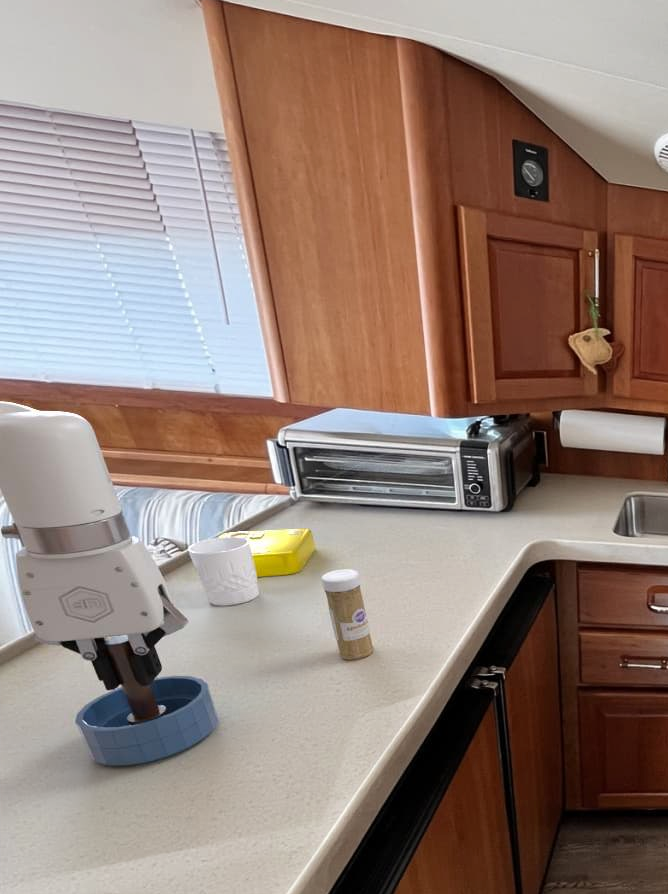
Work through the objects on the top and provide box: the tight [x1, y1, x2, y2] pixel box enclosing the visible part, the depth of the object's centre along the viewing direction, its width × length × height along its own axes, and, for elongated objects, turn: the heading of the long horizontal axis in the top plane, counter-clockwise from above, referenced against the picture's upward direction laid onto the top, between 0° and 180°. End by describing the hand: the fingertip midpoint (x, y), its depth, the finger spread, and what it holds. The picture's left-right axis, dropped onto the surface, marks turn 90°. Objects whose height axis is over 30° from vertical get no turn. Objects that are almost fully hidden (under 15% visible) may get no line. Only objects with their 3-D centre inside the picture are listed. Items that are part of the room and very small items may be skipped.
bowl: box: [74, 675, 219, 766], centre depth 77 cm, size 11×11×6 cm
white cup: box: [187, 537, 260, 607], centre depth 109 cm, size 8×8×10 cm
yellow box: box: [217, 528, 316, 578], centre depth 123 cm, size 15×15×5 cm
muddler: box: [104, 635, 168, 726], centre depth 74 cm, size 3×3×13 cm
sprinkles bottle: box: [321, 568, 375, 661], centre depth 96 cm, size 5×5×14 cm
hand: (134, 680), depth 73 cm, fingers closed on muddler, 2 cm apart
